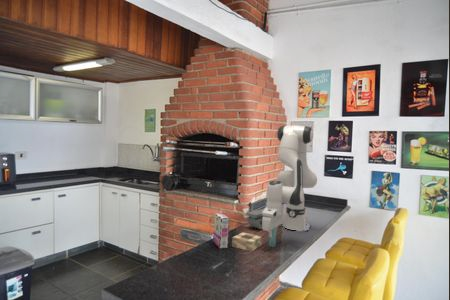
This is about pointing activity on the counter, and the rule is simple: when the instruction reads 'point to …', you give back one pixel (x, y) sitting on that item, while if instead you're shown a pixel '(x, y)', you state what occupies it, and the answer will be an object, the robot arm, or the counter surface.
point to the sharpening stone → (255, 218)
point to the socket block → (246, 241)
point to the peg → (272, 238)
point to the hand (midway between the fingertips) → (272, 235)
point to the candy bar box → (221, 230)
